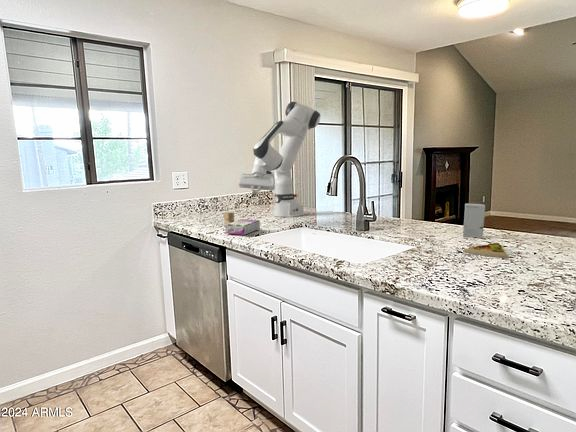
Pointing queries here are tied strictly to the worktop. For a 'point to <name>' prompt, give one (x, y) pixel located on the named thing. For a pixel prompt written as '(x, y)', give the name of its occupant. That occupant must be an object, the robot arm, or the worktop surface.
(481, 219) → the skincare box
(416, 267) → the worktop surface
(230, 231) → the candy bar box
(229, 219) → the oak block
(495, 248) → the pizza slice
